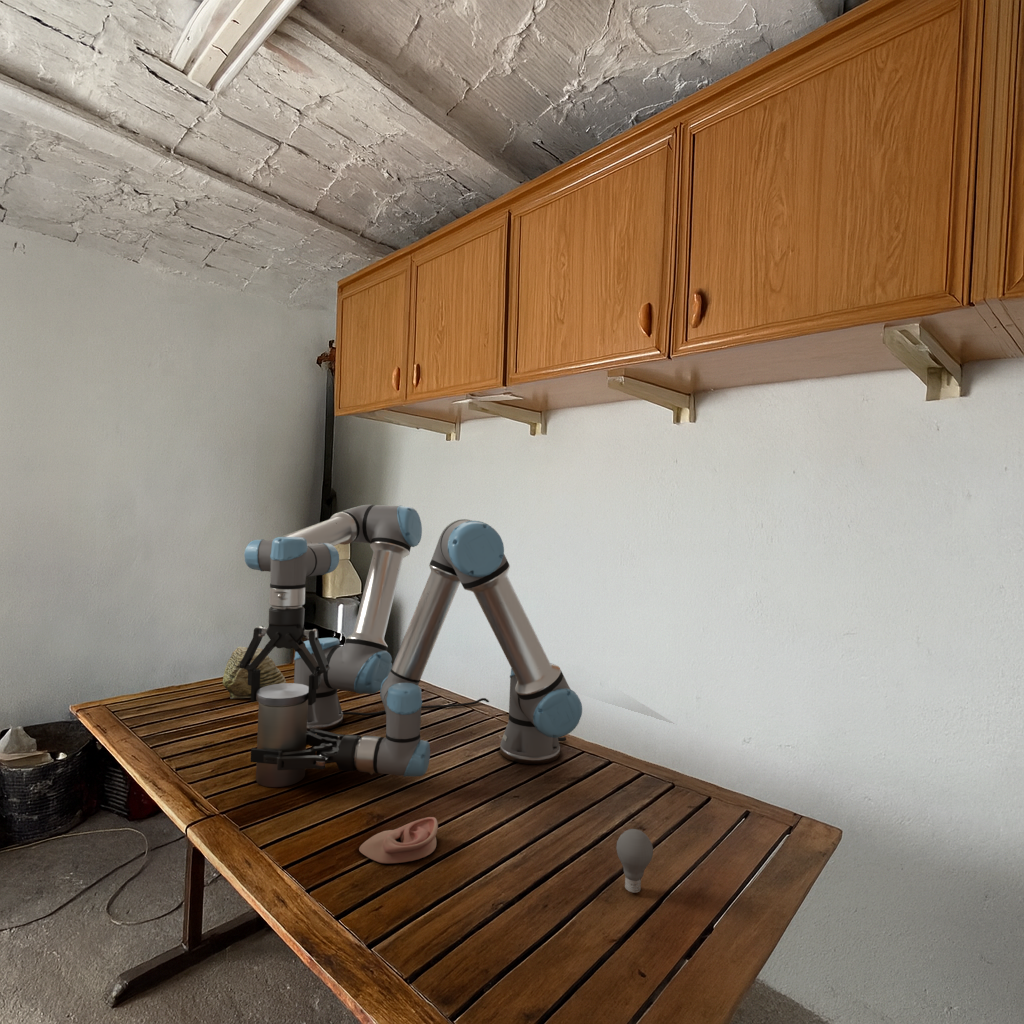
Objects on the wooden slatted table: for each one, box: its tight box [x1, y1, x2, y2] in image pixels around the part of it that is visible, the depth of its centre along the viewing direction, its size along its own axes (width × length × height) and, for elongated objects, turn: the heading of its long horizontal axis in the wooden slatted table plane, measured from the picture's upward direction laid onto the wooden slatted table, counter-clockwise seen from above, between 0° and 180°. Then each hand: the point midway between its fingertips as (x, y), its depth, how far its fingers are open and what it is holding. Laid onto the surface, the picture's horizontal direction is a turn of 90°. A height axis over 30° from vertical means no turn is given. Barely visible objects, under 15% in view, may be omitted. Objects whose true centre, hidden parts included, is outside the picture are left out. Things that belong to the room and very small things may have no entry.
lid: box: [256, 682, 309, 706], centre depth 142 cm, size 11×11×2 cm
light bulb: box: [615, 828, 654, 894], centre depth 106 cm, size 6×6×10 cm
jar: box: [255, 700, 308, 788], centre depth 142 cm, size 10×10×19 cm
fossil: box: [222, 646, 287, 699], centre depth 198 cm, size 9×18×15 cm, turn 132°
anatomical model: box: [358, 816, 439, 864], centre depth 116 cm, size 13×4×12 cm
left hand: (283, 701), depth 142 cm, fingers open, 12 cm apart
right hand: (264, 745), depth 143 cm, fingers closed on jar, 10 cm apart
